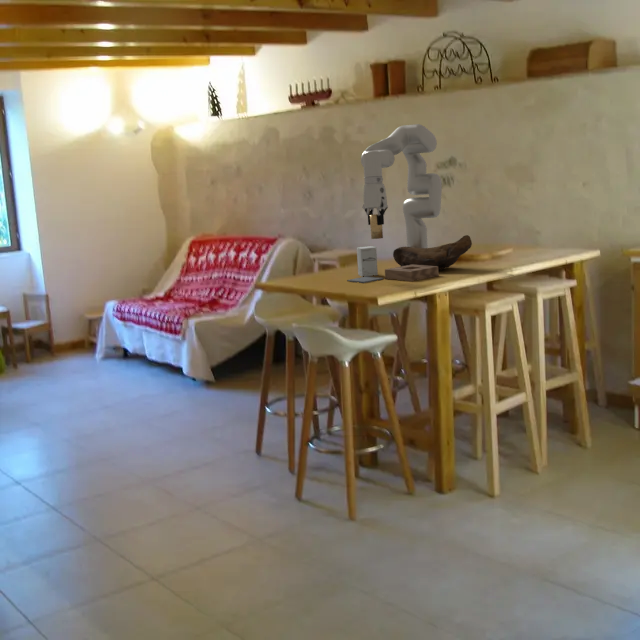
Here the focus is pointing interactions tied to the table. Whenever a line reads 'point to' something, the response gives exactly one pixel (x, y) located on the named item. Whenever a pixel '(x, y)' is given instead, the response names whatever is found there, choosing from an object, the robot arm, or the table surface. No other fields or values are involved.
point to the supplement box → (367, 261)
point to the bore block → (411, 272)
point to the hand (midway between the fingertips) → (376, 224)
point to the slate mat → (365, 279)
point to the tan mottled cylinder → (375, 227)
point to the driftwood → (433, 254)
